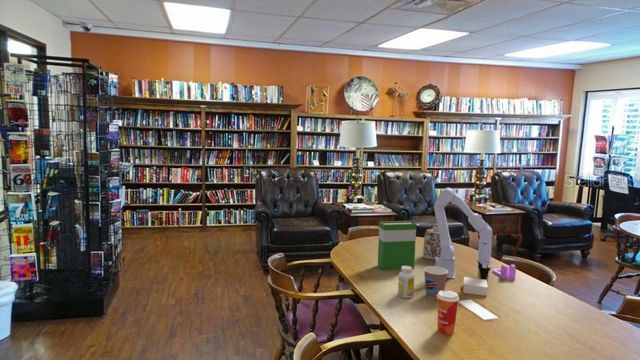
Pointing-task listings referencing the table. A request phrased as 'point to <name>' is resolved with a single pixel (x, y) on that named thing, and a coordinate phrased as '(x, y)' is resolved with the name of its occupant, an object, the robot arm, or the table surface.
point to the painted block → (475, 286)
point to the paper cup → (447, 311)
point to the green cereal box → (396, 244)
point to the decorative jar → (432, 244)
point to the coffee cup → (434, 280)
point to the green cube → (479, 276)
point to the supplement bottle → (406, 282)
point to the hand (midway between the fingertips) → (482, 277)
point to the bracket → (506, 272)
